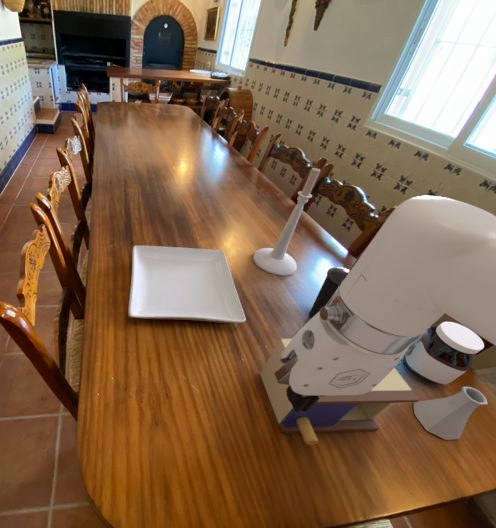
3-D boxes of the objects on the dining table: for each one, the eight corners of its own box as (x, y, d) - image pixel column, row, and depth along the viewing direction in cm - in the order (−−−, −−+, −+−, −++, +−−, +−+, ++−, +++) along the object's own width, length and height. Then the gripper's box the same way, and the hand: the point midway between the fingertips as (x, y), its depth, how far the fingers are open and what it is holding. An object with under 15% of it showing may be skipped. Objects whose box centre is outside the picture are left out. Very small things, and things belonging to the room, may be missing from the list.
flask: (422, 434, 54) (463, 410, 48) (405, 397, 60) (440, 370, 53) (466, 446, 53) (515, 422, 47) (445, 407, 59) (486, 381, 52)
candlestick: (289, 252, 96) (333, 160, 77) (301, 278, 86) (355, 181, 67) (249, 247, 97) (283, 155, 77) (257, 273, 87) (298, 175, 68)
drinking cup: (311, 329, 72) (354, 267, 59) (298, 306, 77) (334, 244, 65) (341, 330, 72) (390, 268, 59) (326, 306, 78) (367, 245, 65)
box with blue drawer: (376, 431, 54) (419, 400, 46) (282, 433, 53) (311, 402, 45) (341, 372, 63) (372, 338, 55) (259, 373, 62) (280, 338, 54)
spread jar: (444, 395, 61) (491, 364, 53) (381, 363, 65) (416, 331, 58) (442, 355, 68) (482, 323, 61) (386, 330, 73) (417, 297, 66)
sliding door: (344, 448, 50) (375, 425, 44) (292, 450, 49) (317, 426, 43) (331, 422, 53) (358, 397, 47) (282, 423, 53) (304, 398, 47)
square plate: (132, 254, 90) (132, 243, 87) (221, 259, 91) (224, 249, 88) (127, 325, 69) (128, 314, 66) (243, 331, 70) (248, 320, 67)
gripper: (318, 349, 27) (253, 430, 38) (467, 349, 28) (360, 428, 40) (284, 289, 32) (236, 376, 44) (409, 292, 34) (331, 375, 45)
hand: (295, 400), depth 42 cm, fingers closed
